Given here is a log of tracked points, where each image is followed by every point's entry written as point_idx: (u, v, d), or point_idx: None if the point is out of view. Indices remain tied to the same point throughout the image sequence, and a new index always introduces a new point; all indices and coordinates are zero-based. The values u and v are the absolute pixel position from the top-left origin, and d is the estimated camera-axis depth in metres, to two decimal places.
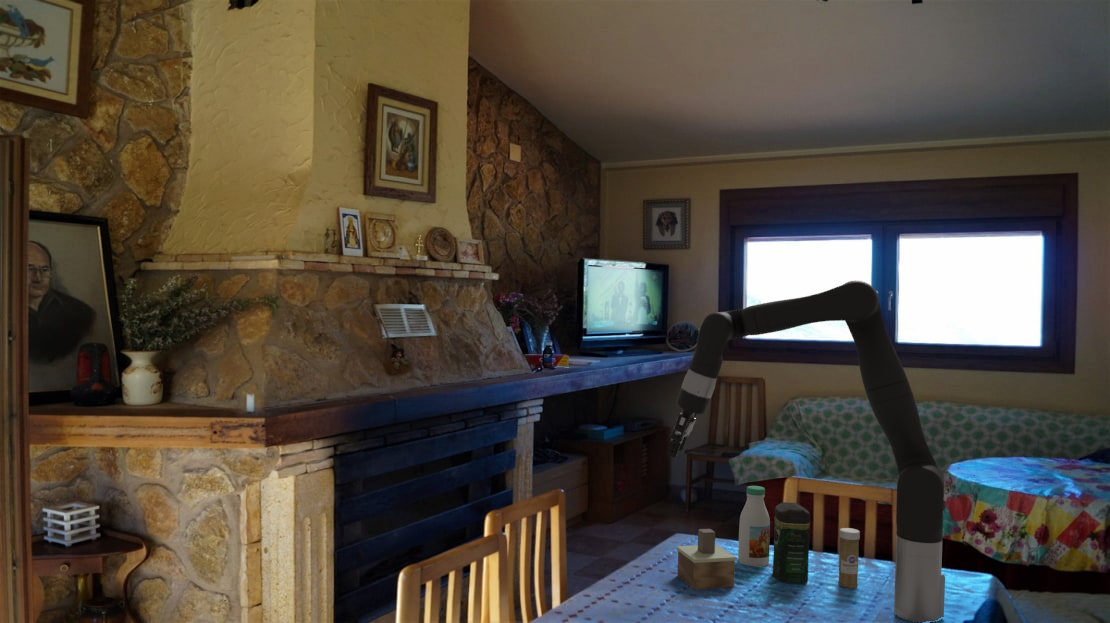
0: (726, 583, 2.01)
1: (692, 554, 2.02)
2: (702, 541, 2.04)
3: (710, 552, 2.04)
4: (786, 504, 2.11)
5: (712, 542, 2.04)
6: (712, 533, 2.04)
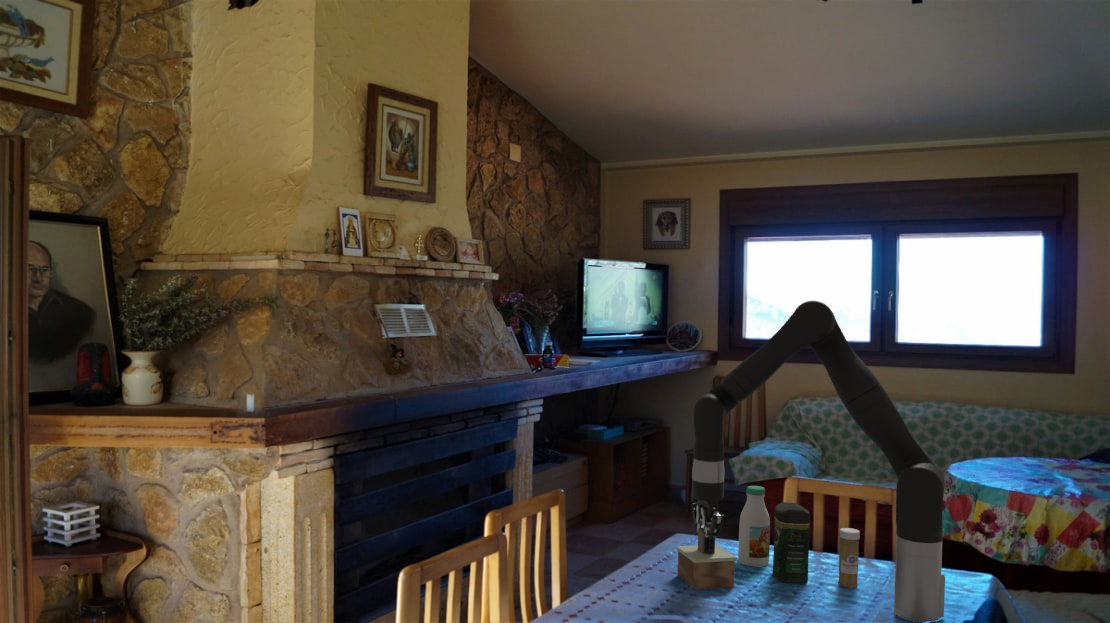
0: (726, 583, 2.01)
1: (692, 554, 2.02)
2: (702, 541, 2.04)
3: None
4: (786, 504, 2.11)
5: None
6: None
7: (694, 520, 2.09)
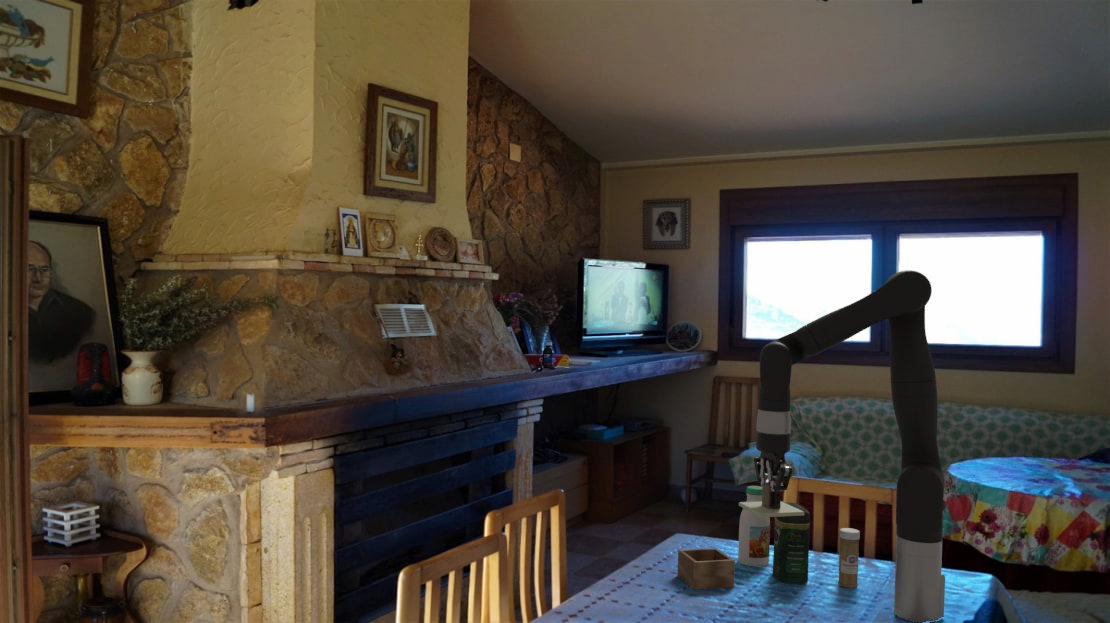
0: (726, 583, 2.01)
1: (758, 509, 1.93)
2: (767, 495, 1.95)
3: None
4: None
5: None
6: None
7: (757, 475, 2.00)
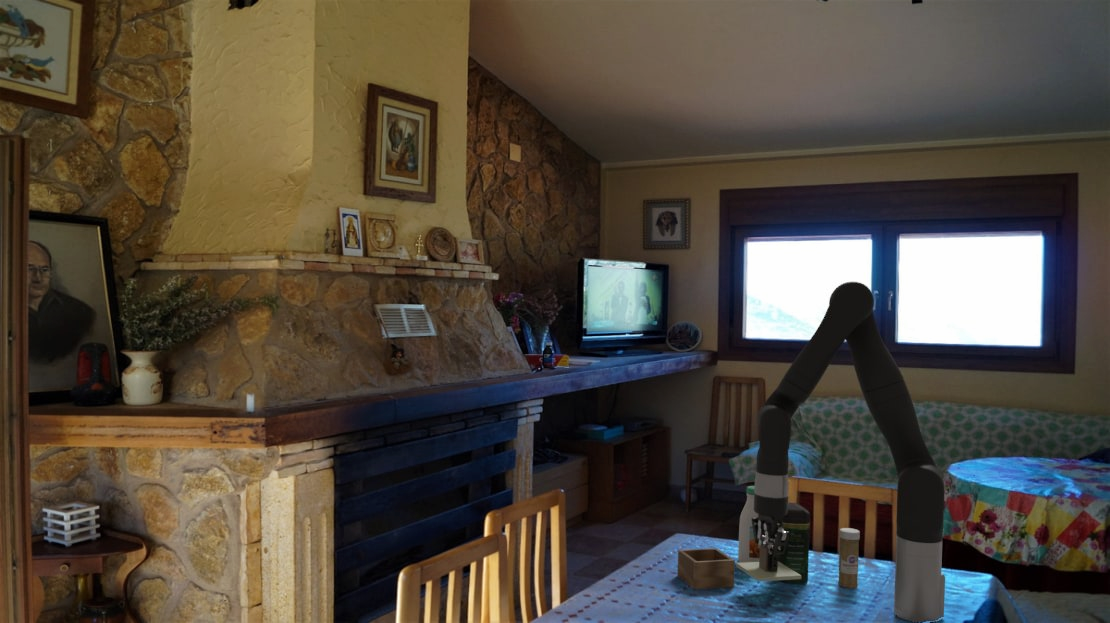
0: (726, 583, 2.01)
1: (755, 572, 1.93)
2: (764, 558, 1.95)
3: None
4: None
5: None
6: None
7: (755, 536, 2.00)
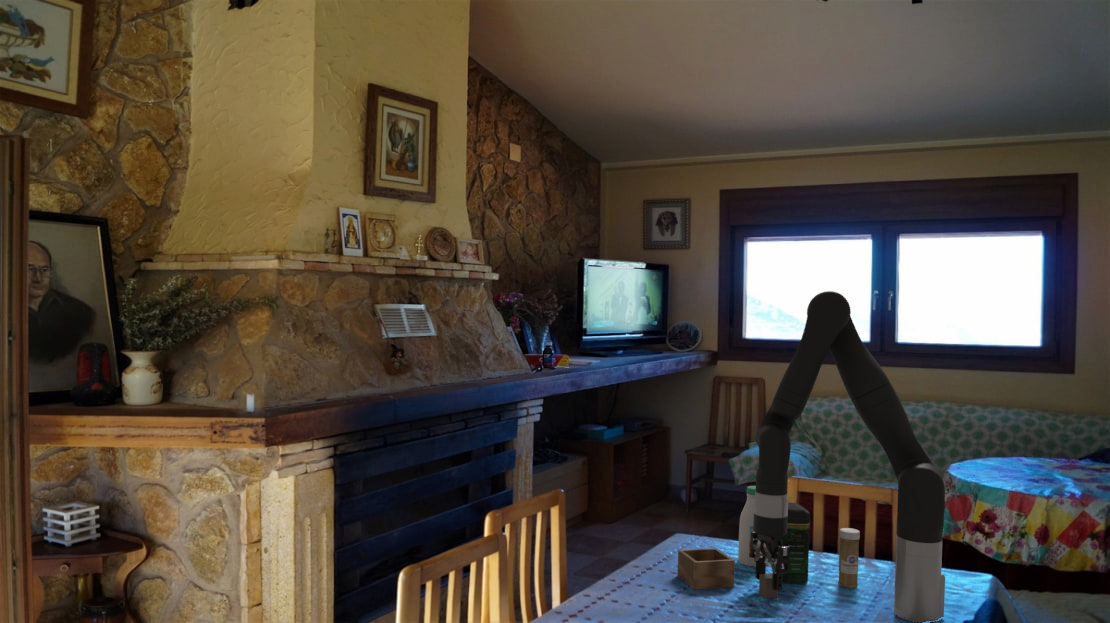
0: (726, 583, 2.01)
1: None
2: (764, 587, 1.95)
3: None
4: None
5: None
6: None
7: (751, 549, 2.02)
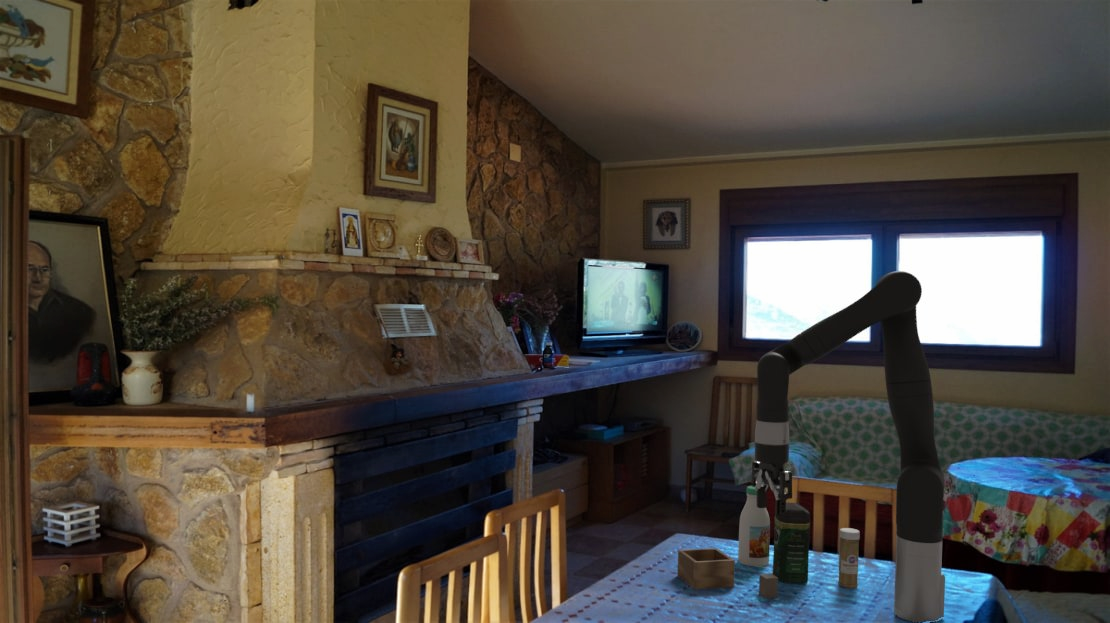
0: (726, 583, 2.01)
1: None
2: (764, 587, 1.95)
3: None
4: (786, 504, 2.11)
5: (775, 588, 1.95)
6: (775, 579, 1.95)
7: (752, 479, 2.02)
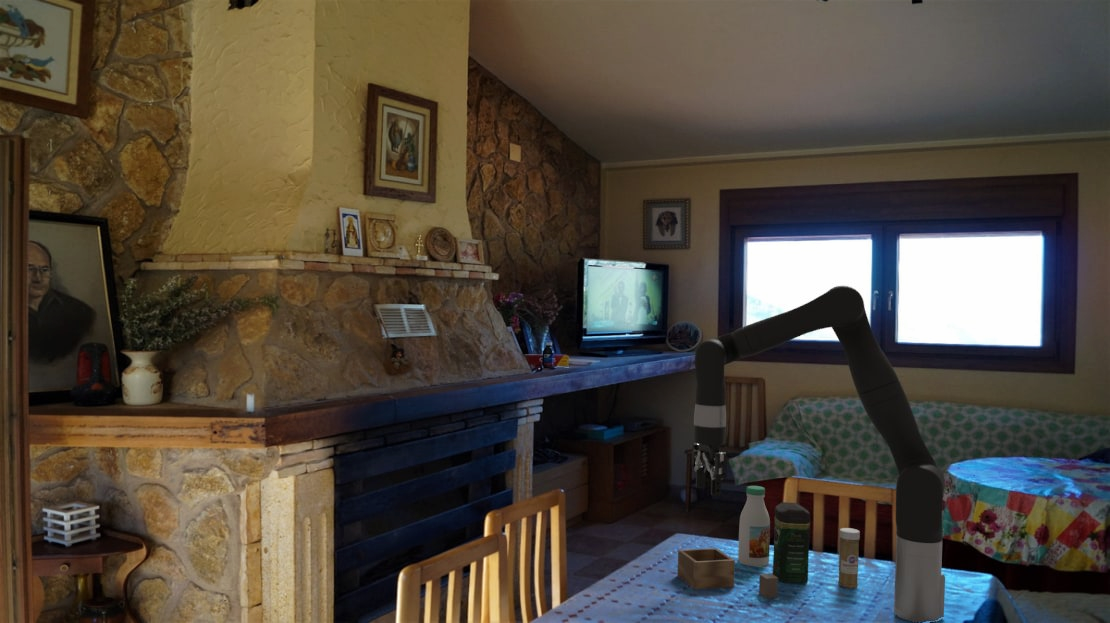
0: (726, 583, 2.01)
1: None
2: (764, 587, 1.95)
3: None
4: (786, 504, 2.11)
5: (775, 588, 1.95)
6: (775, 579, 1.95)
7: (692, 460, 2.11)
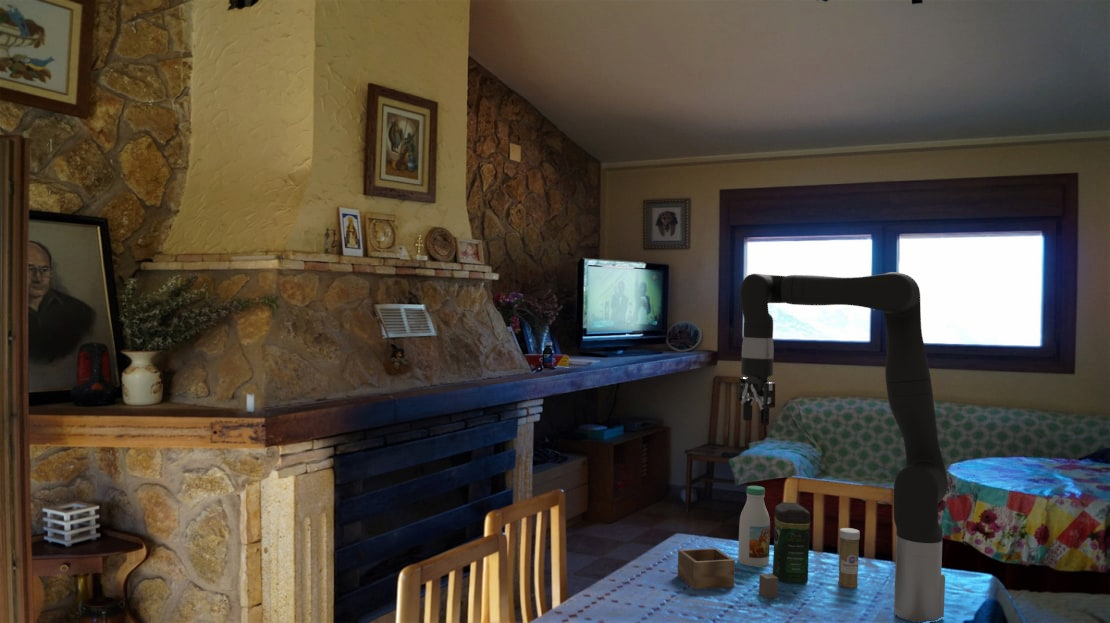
0: (726, 583, 2.01)
1: None
2: (764, 587, 1.95)
3: None
4: (786, 504, 2.11)
5: (775, 588, 1.95)
6: (775, 579, 1.95)
7: (739, 394, 2.16)
